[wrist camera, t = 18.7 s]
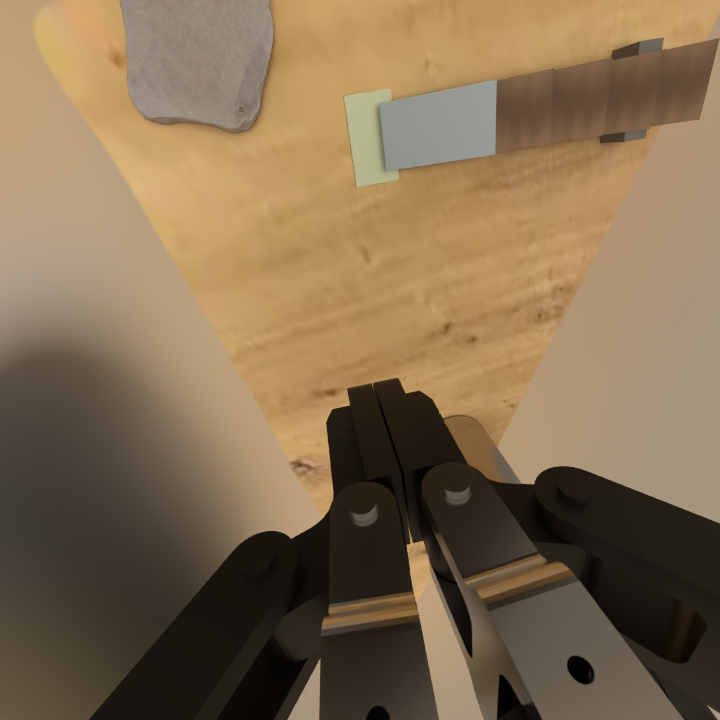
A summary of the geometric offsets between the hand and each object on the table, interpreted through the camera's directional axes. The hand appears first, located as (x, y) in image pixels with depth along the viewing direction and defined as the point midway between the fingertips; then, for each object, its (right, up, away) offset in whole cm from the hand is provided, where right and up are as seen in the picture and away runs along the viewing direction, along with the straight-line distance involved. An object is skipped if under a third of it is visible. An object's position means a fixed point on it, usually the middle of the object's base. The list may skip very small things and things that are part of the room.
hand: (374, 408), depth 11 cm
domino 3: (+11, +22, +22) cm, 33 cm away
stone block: (-12, +26, +18) cm, 34 cm away
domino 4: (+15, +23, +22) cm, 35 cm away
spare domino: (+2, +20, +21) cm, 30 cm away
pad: (+1, +21, +22) cm, 30 cm away
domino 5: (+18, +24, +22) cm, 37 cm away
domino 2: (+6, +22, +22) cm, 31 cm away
